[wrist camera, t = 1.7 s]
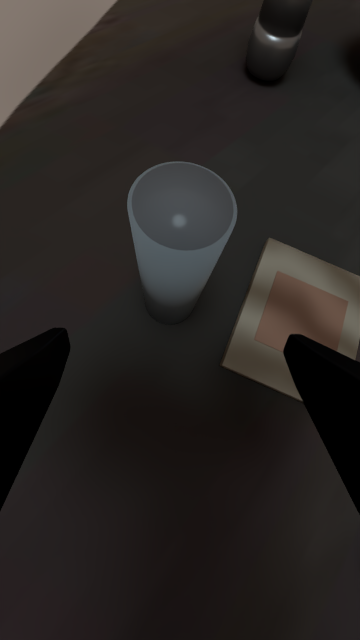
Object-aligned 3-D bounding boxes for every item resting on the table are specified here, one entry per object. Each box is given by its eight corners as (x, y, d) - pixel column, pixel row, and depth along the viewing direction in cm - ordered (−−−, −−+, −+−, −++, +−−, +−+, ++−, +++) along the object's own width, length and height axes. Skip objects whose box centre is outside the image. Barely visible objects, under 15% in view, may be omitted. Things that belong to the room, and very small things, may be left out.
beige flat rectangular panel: (334, 417, 21) (344, 419, 20) (219, 365, 21) (222, 365, 20) (362, 285, 25) (371, 281, 24) (265, 242, 25) (269, 236, 24)
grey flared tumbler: (204, 304, 23) (259, 214, 10) (166, 334, 22) (175, 275, 9) (173, 269, 24) (189, 144, 11) (134, 296, 22) (103, 191, 10)
